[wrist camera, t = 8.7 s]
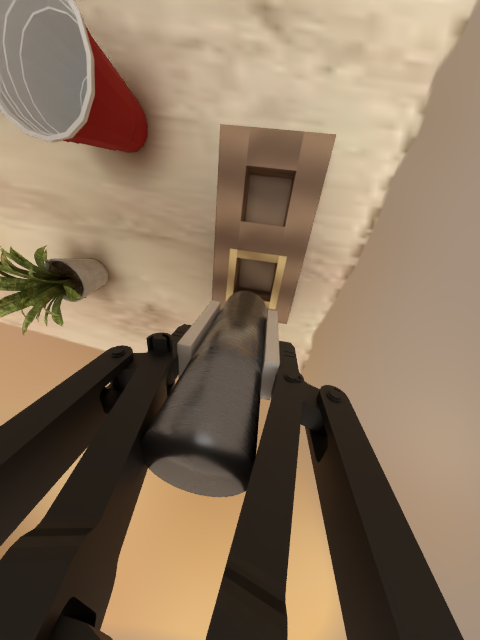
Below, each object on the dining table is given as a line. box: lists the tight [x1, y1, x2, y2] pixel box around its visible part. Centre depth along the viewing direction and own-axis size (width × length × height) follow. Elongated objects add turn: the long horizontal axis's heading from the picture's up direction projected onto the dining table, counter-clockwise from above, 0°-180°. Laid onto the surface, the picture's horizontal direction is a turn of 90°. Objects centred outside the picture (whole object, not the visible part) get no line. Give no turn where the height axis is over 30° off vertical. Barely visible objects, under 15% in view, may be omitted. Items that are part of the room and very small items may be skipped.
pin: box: [140, 291, 267, 497], centre depth 12 cm, size 4×4×13 cm
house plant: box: [0, 246, 108, 335], centre depth 29 cm, size 14×14×16 cm
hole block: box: [212, 124, 336, 324], centre depth 27 cm, size 22×12×5 cm, turn 174°
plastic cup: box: [0, 0, 147, 152], centre depth 20 cm, size 11×11×12 cm
